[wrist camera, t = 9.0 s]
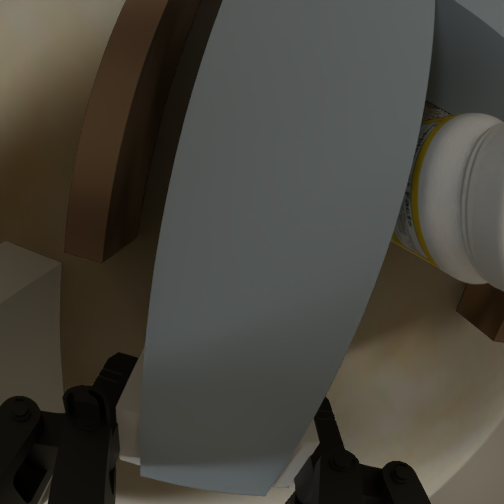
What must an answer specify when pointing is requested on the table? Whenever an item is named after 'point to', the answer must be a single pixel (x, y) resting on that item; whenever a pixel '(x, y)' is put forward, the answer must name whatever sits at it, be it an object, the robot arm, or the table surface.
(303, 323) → the grey l-shaped block
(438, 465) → the table surface
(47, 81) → the table surface
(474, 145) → the supplement bottle
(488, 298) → the wooden u-shaped frame
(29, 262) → the plain bar
